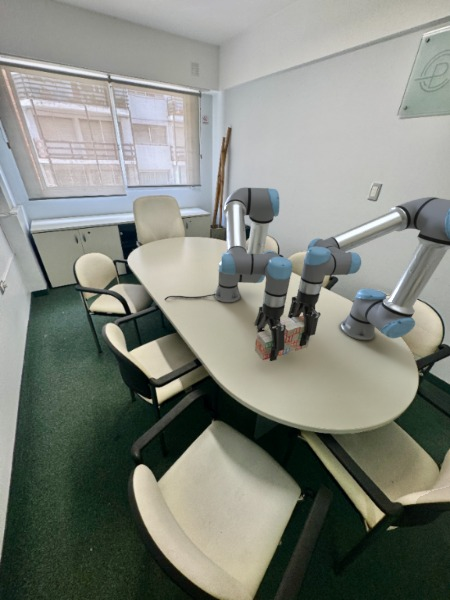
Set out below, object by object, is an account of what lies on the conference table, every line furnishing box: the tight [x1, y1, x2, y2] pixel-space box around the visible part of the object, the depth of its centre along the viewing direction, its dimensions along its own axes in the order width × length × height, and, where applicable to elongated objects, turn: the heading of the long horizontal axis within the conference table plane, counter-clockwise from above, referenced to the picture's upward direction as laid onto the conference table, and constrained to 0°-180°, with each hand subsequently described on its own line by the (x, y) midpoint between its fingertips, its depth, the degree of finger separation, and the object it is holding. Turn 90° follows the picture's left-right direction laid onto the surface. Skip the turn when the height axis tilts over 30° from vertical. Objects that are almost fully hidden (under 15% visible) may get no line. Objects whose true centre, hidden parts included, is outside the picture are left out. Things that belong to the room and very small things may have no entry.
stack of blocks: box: [254, 315, 311, 362], centre depth 94 cm, size 21×6×12 cm, turn 113°
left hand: (265, 351), depth 94 cm, fingers open, 9 cm apart
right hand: (297, 339), depth 99 cm, fingers closed on stack of blocks, 6 cm apart
